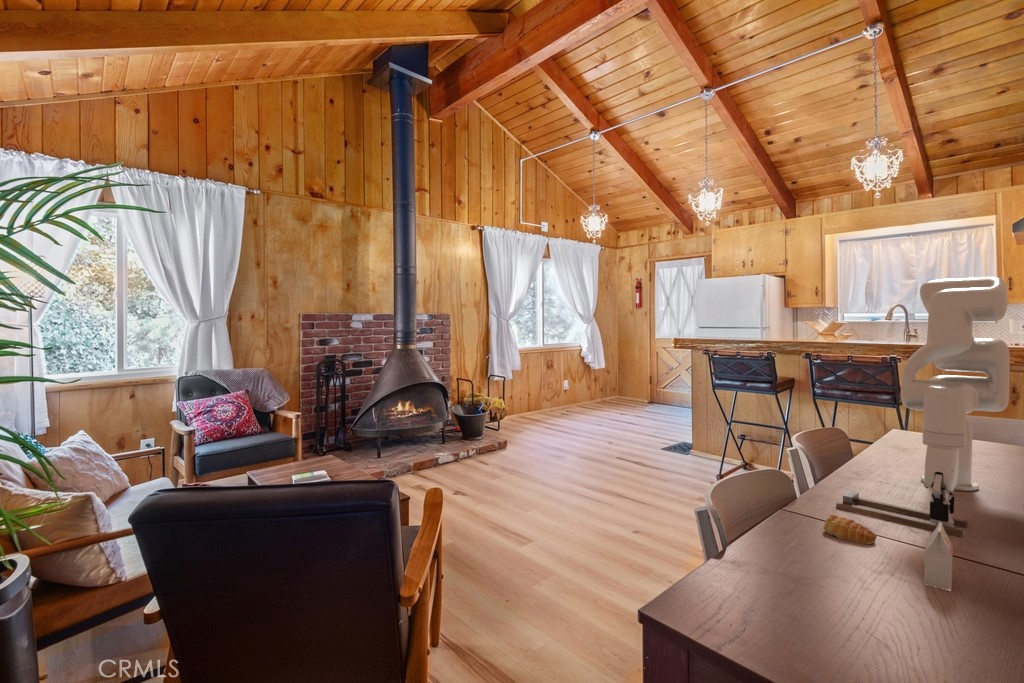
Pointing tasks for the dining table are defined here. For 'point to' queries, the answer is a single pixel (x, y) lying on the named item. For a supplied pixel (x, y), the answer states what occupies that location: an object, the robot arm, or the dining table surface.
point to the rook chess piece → (950, 521)
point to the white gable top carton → (938, 559)
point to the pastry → (848, 530)
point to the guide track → (901, 518)
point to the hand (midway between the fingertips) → (941, 515)
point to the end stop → (851, 498)
